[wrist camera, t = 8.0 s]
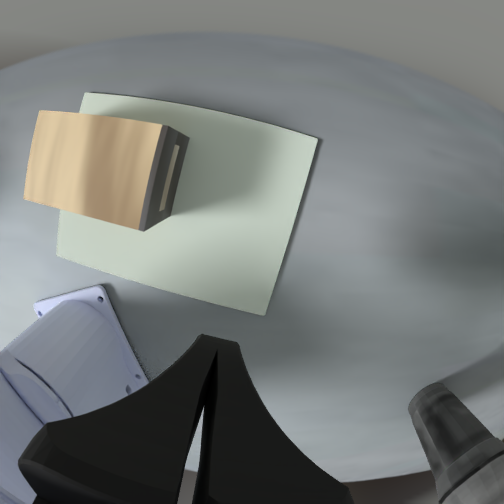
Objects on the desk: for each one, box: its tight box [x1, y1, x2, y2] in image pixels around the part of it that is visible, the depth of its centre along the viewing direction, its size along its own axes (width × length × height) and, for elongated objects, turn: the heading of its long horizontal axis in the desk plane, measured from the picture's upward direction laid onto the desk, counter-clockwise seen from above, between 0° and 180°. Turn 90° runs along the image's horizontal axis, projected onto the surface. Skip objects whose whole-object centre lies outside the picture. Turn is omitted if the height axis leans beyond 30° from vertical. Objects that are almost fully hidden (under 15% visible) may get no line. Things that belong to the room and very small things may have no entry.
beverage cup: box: [408, 383, 504, 504], centre depth 14 cm, size 7×7×20 cm
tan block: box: [24, 110, 190, 232], centre depth 15 cm, size 5×5×8 cm
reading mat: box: [56, 93, 318, 316], centre depth 18 cm, size 16×12×1 cm
